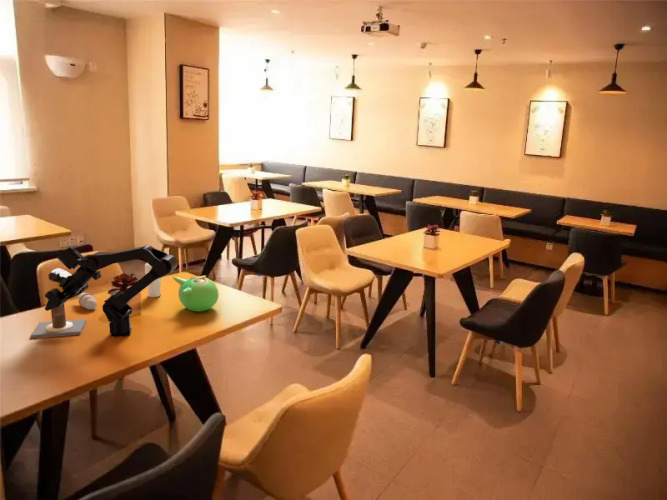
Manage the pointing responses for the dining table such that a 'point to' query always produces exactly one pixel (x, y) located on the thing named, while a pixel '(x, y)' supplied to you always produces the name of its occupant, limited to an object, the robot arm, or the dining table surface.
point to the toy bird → (197, 293)
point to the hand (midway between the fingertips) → (53, 305)
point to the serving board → (58, 329)
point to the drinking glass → (153, 284)
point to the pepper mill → (58, 317)
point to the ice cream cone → (87, 301)
